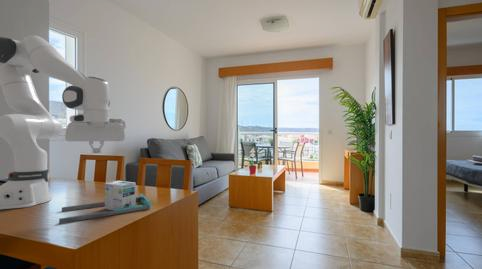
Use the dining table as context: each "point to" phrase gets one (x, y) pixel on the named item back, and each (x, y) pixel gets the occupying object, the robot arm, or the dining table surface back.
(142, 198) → the rail frame
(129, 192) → the light bulb box
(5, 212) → the dining table surface
